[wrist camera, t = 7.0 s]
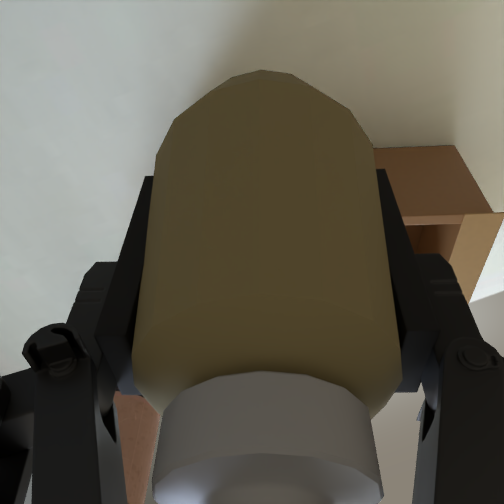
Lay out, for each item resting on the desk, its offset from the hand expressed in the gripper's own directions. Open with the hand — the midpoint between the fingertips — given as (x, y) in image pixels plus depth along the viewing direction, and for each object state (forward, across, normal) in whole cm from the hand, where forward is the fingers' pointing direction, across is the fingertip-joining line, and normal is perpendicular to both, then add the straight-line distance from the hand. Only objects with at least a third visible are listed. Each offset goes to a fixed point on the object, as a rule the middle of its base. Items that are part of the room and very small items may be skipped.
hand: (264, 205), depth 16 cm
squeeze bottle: (+5, 0, 0) cm, 5 cm away
